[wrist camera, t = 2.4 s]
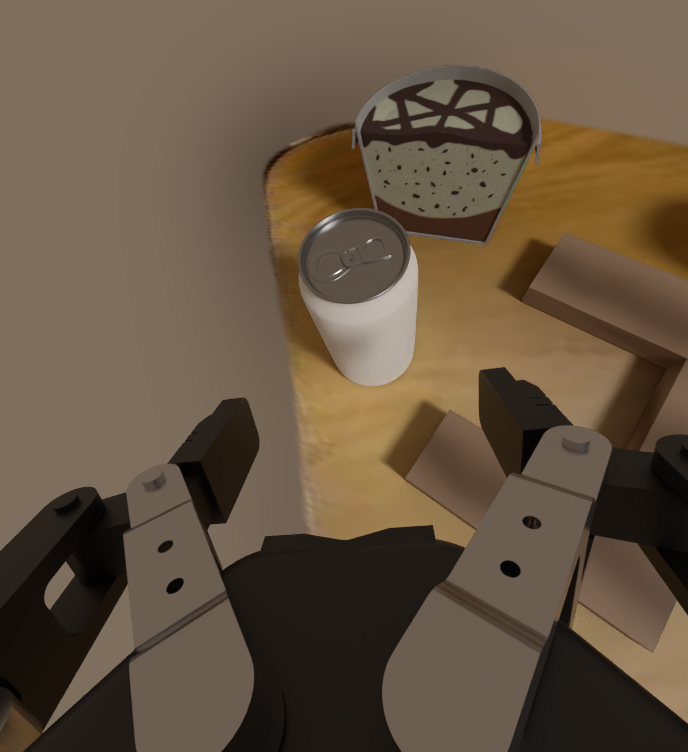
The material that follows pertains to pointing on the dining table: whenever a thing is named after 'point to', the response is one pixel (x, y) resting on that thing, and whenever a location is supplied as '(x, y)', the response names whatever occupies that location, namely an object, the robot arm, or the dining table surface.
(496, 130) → the food container
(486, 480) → the notched board
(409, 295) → the can
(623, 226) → the dining table surface
